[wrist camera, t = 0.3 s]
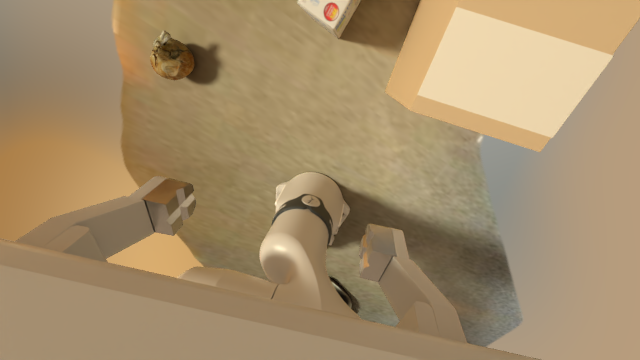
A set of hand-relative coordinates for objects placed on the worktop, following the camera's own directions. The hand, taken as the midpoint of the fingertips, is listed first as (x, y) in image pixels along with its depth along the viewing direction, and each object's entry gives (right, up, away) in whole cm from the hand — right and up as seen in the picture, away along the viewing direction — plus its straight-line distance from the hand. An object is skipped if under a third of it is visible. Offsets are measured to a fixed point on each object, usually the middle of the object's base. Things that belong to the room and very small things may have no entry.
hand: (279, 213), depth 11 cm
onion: (-27, +27, +39) cm, 55 cm away
